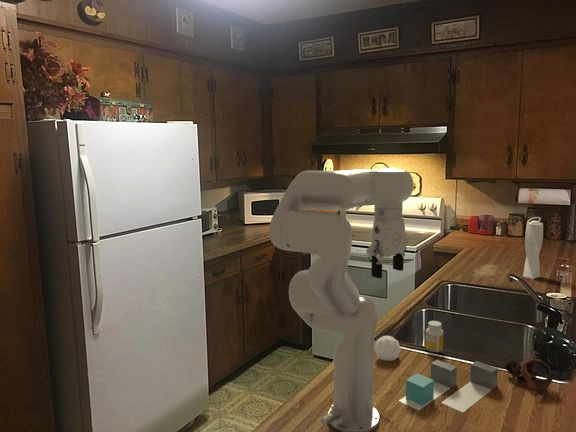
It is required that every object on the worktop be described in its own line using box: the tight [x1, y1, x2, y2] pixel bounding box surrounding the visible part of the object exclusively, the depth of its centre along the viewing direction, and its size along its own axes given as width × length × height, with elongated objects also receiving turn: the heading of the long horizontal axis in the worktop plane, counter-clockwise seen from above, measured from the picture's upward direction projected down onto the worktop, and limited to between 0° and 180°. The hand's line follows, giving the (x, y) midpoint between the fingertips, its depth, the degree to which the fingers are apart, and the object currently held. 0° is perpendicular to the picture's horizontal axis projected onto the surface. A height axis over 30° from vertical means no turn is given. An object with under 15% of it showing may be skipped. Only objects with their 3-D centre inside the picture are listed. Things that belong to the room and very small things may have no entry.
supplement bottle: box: [424, 320, 444, 353], centre depth 152 cm, size 5×5×10 cm
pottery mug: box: [503, 358, 553, 391], centre depth 132 cm, size 12×10×8 cm
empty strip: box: [441, 360, 499, 413], centre depth 126 cm, size 18×6×6 cm, turn 132°
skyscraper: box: [522, 216, 544, 280], centre depth 223 cm, size 8×8×28 cm
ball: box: [374, 335, 401, 362], centre depth 147 cm, size 8×8×8 cm
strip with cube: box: [398, 359, 458, 411], centre depth 127 cm, size 18×6×6 cm, turn 132°
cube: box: [405, 373, 434, 406], centre depth 124 cm, size 5×5×5 cm
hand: (387, 273), depth 135 cm, fingers open, 9 cm apart
